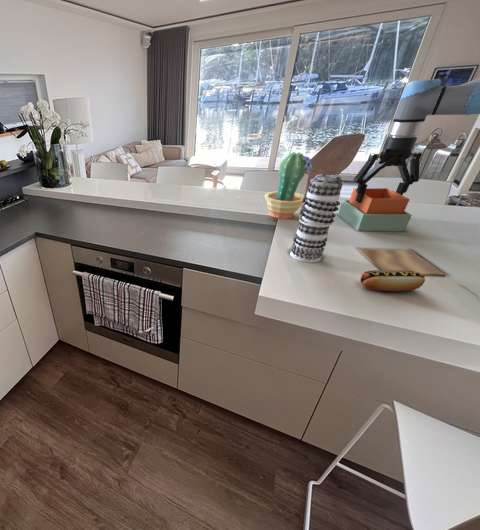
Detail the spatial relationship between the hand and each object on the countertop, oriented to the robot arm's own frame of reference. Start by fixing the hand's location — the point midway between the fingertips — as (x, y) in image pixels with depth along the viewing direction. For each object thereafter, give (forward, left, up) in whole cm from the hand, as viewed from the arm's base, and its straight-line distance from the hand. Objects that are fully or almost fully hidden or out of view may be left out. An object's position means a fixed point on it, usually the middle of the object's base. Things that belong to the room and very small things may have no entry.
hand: (376, 201), depth 104 cm
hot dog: (+16, +45, -9) cm, 49 cm away
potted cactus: (+28, -9, -9) cm, 31 cm away
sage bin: (0, 0, -9) cm, 9 cm away
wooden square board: (+6, +30, -9) cm, 32 cm away
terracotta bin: (0, 0, -8) cm, 8 cm away
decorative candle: (+30, +28, -9) cm, 42 cm away
